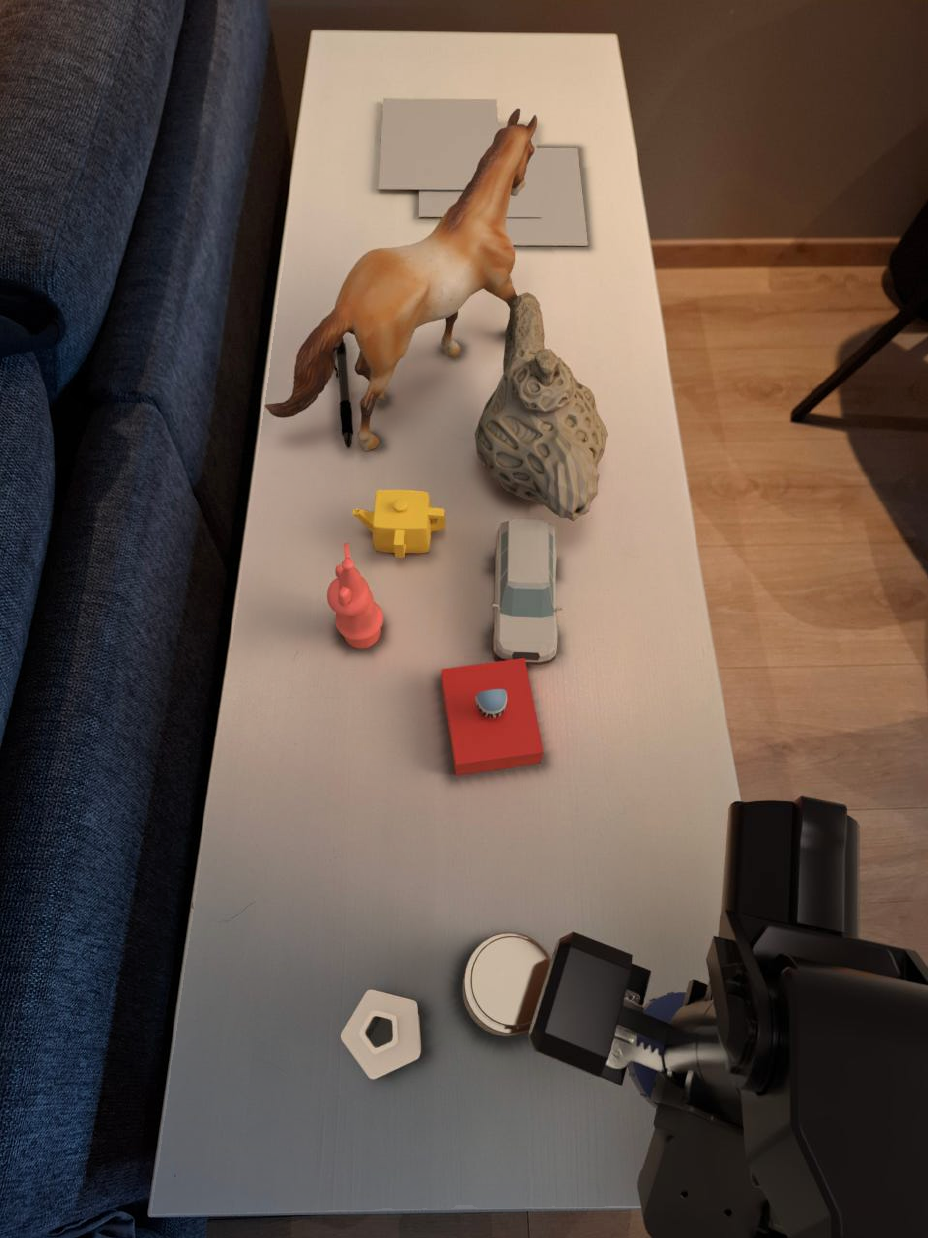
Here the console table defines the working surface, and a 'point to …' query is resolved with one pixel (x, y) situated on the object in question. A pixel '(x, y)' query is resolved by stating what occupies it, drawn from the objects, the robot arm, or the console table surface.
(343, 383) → the pen
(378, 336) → the horse figurine
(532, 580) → the toy car
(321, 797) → the console table surface
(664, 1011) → the jar lid
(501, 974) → the jar
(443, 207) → the paper stack
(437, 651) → the console table surface
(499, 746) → the red box
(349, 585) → the figurine
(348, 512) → the console table surface
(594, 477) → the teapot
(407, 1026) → the white pentagonal vase
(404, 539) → the teapot
